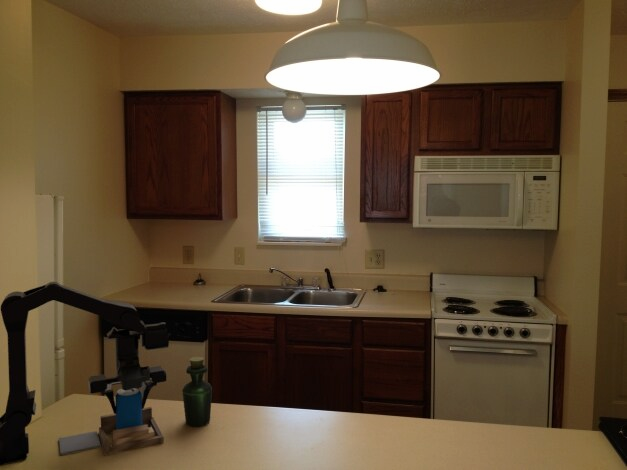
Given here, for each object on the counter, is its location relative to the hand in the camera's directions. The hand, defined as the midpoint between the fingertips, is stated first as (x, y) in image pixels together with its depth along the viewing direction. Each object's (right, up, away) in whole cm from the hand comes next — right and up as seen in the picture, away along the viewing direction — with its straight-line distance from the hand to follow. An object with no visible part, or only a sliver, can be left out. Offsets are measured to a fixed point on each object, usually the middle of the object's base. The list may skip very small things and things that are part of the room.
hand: (128, 410), depth 136 cm
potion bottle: (+16, -6, +8) cm, 19 cm away
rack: (+1, -7, -1) cm, 7 cm away
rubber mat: (-11, -7, -4) cm, 14 cm away
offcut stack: (+3, -7, -4) cm, 9 cm away
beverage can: (0, -7, 0) cm, 7 cm away
